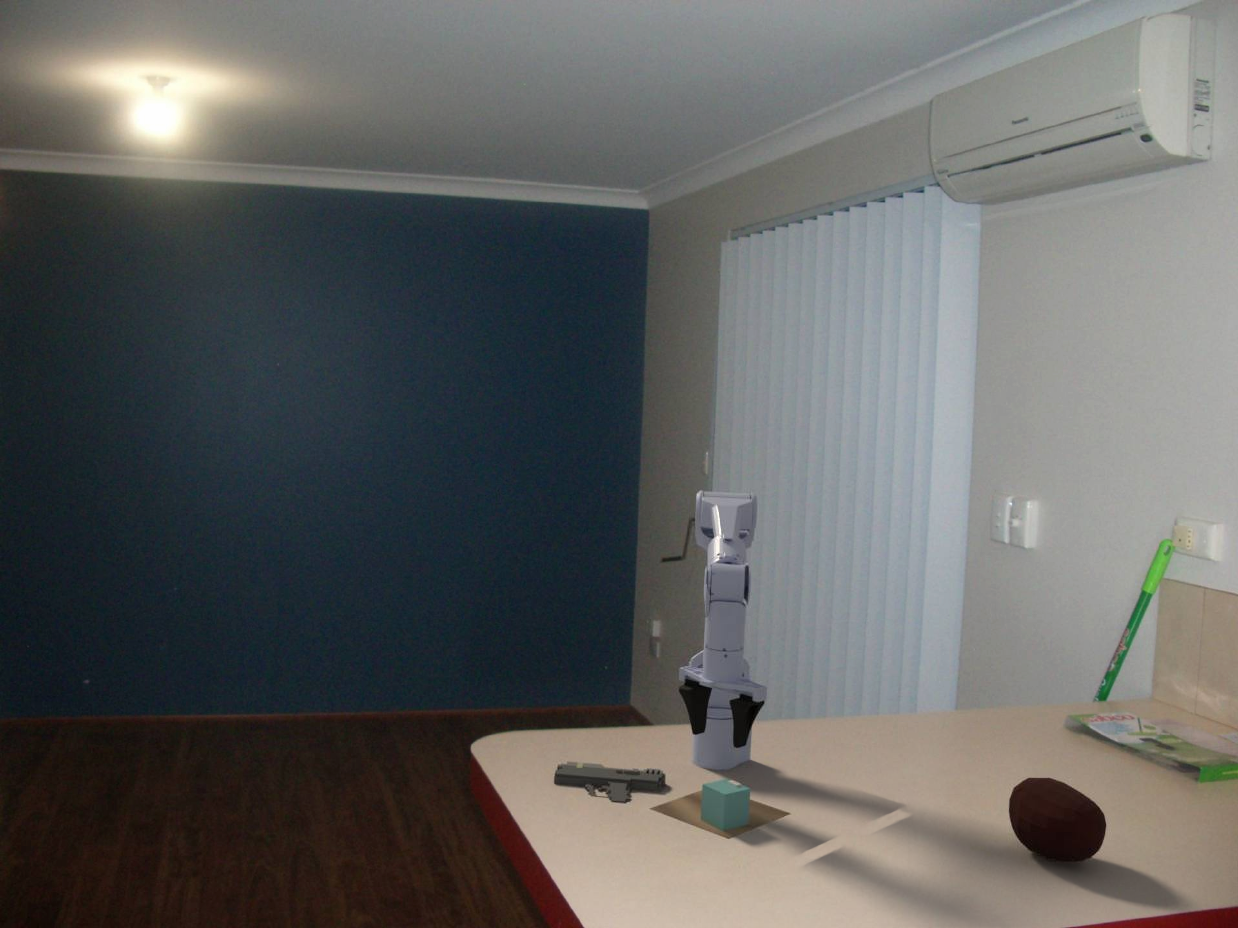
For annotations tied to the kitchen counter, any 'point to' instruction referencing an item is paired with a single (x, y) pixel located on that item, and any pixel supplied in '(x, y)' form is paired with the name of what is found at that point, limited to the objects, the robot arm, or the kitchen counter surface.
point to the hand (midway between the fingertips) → (718, 739)
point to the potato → (1056, 820)
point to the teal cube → (725, 804)
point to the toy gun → (609, 779)
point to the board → (691, 814)
